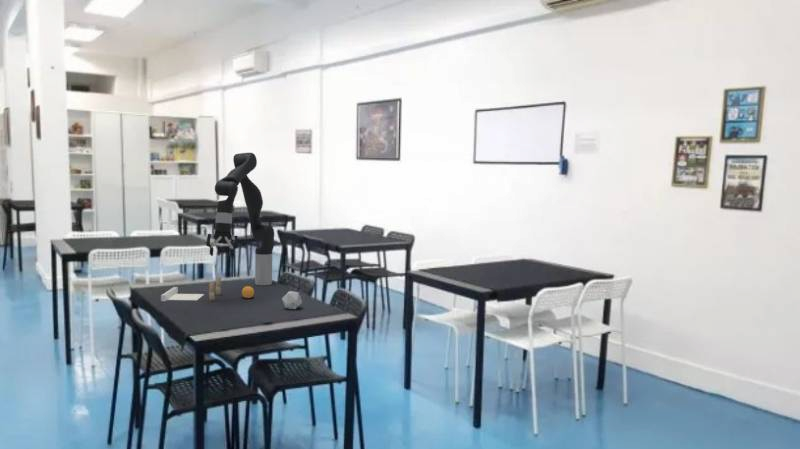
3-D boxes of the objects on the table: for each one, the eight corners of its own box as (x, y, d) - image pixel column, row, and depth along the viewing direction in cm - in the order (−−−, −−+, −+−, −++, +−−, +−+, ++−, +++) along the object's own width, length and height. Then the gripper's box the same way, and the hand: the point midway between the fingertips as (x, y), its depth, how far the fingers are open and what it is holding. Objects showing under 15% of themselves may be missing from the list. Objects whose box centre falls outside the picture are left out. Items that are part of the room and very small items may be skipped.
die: (286, 312, 274) (299, 296, 274) (275, 301, 278) (288, 284, 278) (295, 315, 282) (308, 299, 281) (284, 304, 286) (297, 288, 286)
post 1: (209, 299, 293) (210, 281, 292) (214, 300, 293) (215, 281, 292) (208, 301, 290) (208, 282, 289) (213, 301, 290) (213, 282, 290)
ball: (242, 296, 302) (242, 284, 302) (255, 296, 303) (255, 285, 302) (240, 299, 296) (240, 287, 296) (252, 299, 297) (253, 287, 296)
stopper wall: (173, 292, 306) (173, 287, 306) (177, 292, 307) (177, 287, 306) (161, 301, 287) (161, 295, 286) (165, 301, 287) (165, 295, 286)
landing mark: (176, 294, 304) (176, 293, 304) (204, 294, 305) (204, 294, 305) (167, 300, 290) (167, 299, 290) (196, 300, 291) (197, 300, 291)
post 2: (216, 294, 306) (216, 276, 305) (221, 294, 306) (221, 276, 305) (215, 295, 304) (215, 277, 303) (220, 295, 304) (220, 277, 303)
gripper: (237, 224, 295) (234, 257, 294) (207, 221, 289) (204, 255, 288) (240, 223, 288) (237, 257, 287) (209, 221, 282) (206, 255, 281)
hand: (220, 256), depth 287 cm, fingers open, 8 cm apart
